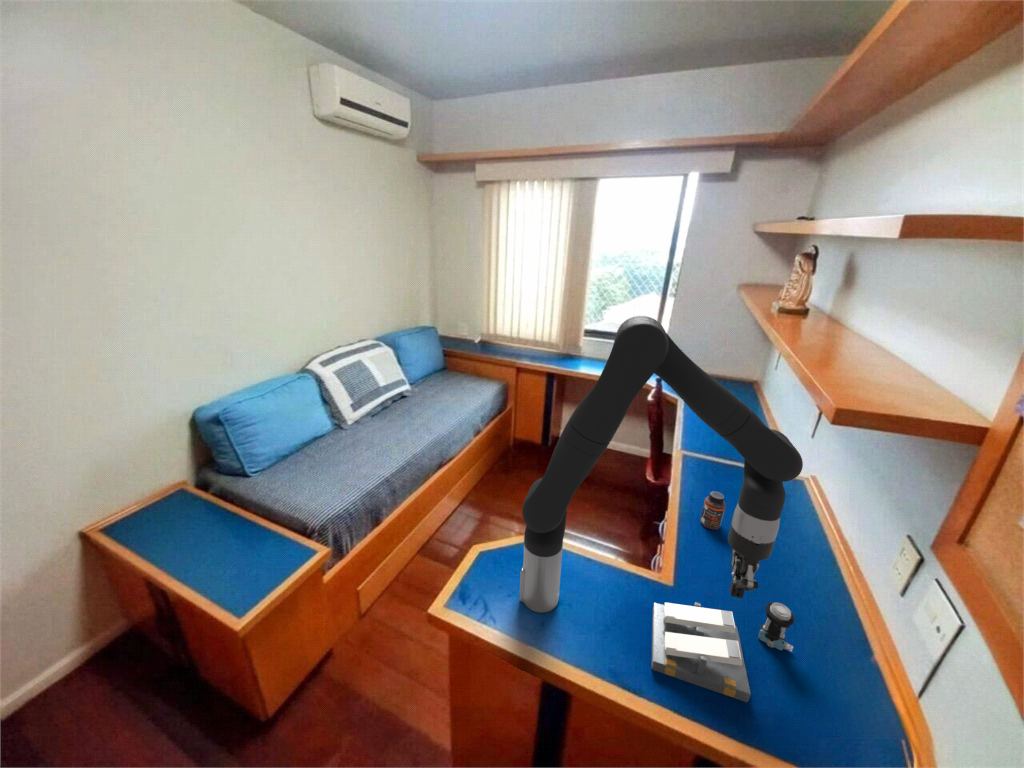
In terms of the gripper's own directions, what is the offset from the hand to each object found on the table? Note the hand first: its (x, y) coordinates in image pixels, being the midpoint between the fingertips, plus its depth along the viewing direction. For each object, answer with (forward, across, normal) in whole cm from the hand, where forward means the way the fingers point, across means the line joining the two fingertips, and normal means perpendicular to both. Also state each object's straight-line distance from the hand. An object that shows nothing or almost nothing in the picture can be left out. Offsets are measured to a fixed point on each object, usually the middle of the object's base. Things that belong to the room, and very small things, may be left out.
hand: (735, 594), depth 81 cm
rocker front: (+9, +7, -6) cm, 13 cm away
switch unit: (+15, +4, -6) cm, 17 cm away
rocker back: (+9, 0, -6) cm, 11 cm away
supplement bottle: (+16, -44, +2) cm, 47 cm away
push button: (+16, -5, +11) cm, 20 cm away
